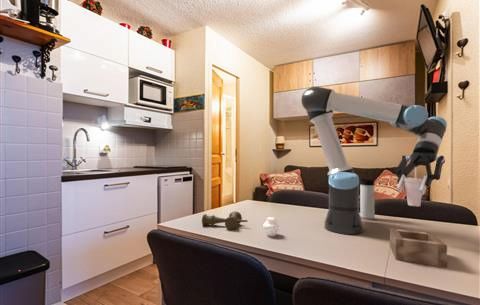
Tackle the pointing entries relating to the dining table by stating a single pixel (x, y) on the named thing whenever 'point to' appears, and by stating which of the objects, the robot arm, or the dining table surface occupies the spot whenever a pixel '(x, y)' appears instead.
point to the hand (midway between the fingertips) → (409, 191)
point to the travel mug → (367, 199)
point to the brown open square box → (418, 247)
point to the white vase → (271, 226)
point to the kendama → (224, 220)
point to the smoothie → (413, 190)
